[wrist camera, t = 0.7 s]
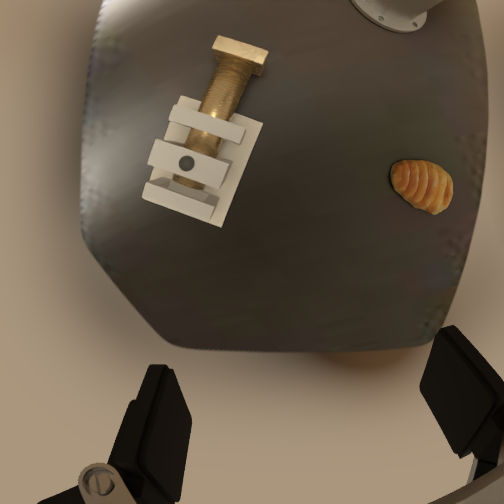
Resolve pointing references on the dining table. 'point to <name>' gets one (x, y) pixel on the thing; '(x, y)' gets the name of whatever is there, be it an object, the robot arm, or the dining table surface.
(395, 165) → the pastry
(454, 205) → the dining table surface
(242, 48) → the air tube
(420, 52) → the dining table surface
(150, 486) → the robot arm
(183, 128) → the white slotted holder
